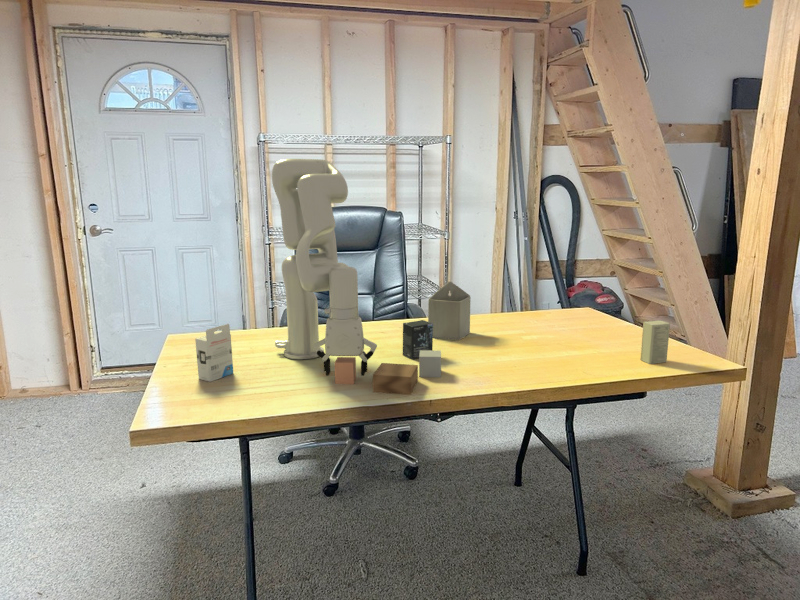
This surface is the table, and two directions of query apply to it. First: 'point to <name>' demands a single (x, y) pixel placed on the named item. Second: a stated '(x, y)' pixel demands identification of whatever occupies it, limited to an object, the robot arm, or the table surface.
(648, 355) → the skincare box
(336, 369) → the terracotta block
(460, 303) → the planter
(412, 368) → the brown flat square block
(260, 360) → the table surface
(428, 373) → the grey block
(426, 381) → the table surface
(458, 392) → the table surface
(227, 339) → the ink box
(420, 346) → the box
